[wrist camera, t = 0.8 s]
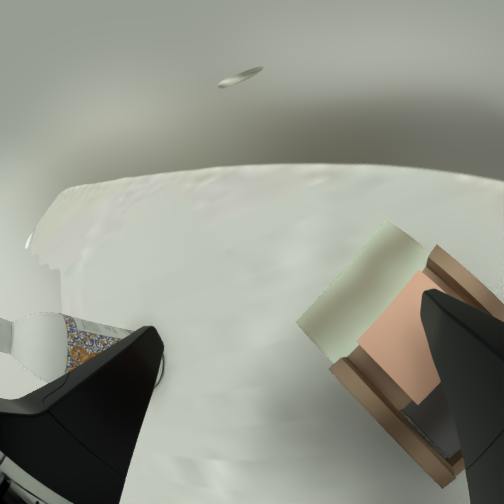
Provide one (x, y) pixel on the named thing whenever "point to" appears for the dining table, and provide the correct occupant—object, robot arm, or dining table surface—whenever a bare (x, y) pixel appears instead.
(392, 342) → the block
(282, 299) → the dining table surface
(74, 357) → the bath foam
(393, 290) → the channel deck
